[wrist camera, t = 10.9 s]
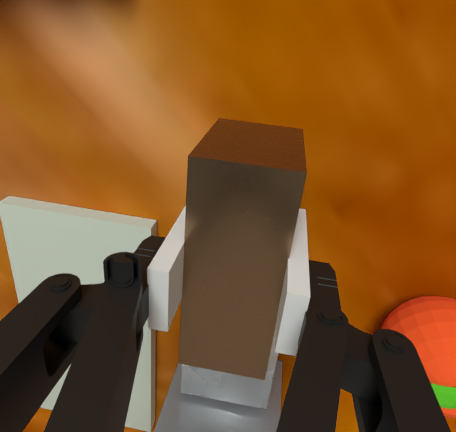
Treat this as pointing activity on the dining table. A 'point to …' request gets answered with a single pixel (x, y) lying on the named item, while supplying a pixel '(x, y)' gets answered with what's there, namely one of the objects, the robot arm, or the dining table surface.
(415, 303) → the clementine
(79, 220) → the board
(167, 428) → the tile
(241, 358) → the brown grey long block
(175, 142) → the dining table surface
